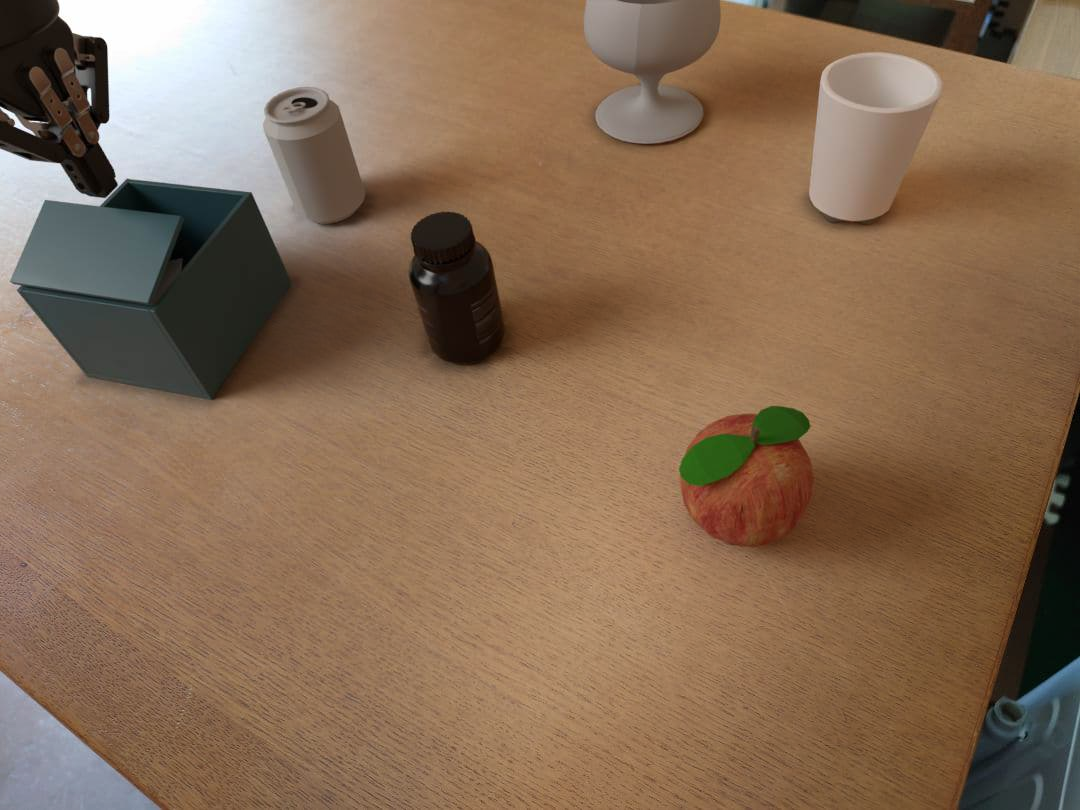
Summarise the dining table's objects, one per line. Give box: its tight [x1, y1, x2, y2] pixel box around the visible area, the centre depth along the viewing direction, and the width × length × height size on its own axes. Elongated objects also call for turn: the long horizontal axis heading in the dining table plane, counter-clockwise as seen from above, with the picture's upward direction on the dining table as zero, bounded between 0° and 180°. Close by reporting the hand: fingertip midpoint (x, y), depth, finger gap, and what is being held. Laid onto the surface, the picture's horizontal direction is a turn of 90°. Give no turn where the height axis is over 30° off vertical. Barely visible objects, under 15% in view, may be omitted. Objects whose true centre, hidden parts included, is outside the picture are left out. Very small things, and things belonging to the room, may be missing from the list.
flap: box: [9, 199, 184, 305], centre depth 60 cm, size 7×13×1 cm, turn 75°
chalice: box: [583, 0, 722, 145], centre depth 83 cm, size 14×14×15 cm
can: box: [262, 86, 366, 225], centre depth 78 cm, size 8×8×12 cm
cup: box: [808, 51, 944, 226], centre depth 71 cm, size 10×10×13 cm
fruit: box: [678, 405, 815, 548], centre depth 51 cm, size 9×10×10 cm
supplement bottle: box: [408, 211, 506, 365], centre depth 64 cm, size 7×7×12 cm
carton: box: [16, 178, 292, 400], centre depth 68 cm, size 15×13×10 cm
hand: (103, 191), depth 60 cm, fingers closed
